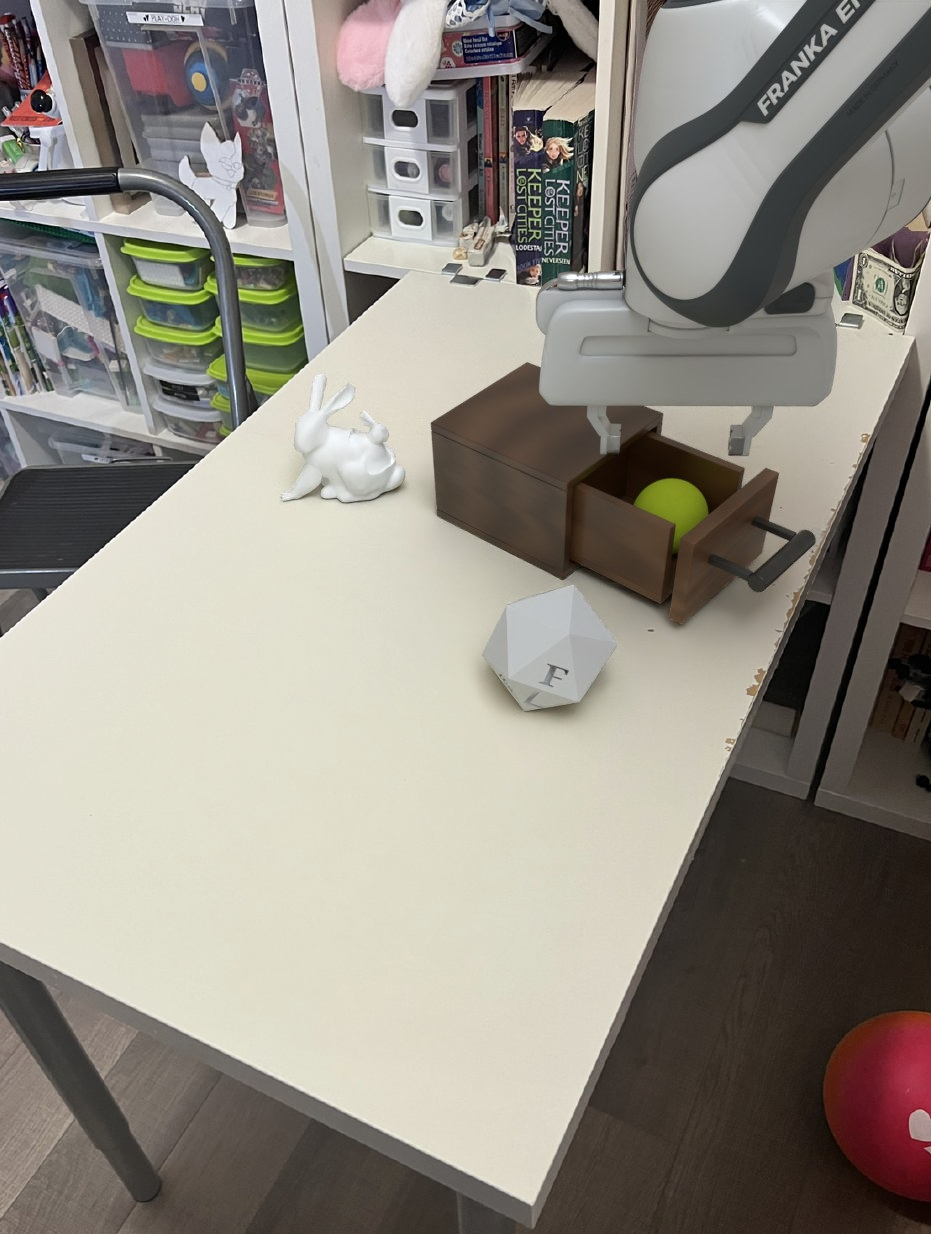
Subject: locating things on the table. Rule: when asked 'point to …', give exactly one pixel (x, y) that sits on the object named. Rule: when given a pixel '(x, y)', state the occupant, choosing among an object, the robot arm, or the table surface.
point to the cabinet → (522, 465)
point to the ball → (674, 505)
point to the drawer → (643, 542)
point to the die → (549, 648)
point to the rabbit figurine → (342, 452)
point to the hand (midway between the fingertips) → (673, 451)
